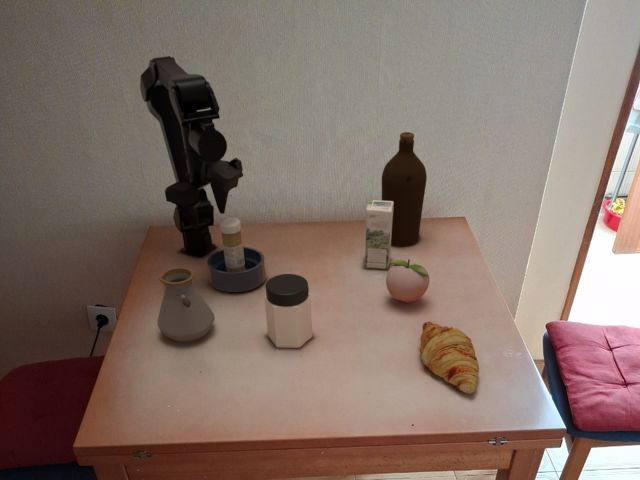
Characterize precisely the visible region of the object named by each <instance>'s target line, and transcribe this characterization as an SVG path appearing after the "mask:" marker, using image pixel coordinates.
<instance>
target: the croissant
mask: <svg viewBox="0 0 640 480" xmlns="http://www.w3.org/2000/svg"><path fill="white" fill-rule="evenodd" d="M419 340H420V354H421V356H420V357H421V358H420V359H421V360H422V361H421V362H422V363H423V364H424V366H426V367H427V368H428V369H429V371H431V373H433V374H434V375H436V376H438V377H440V378H443V381H445V382H446V383H448V384H451V385H453V386H456V388H457V389H458V390H459V391H461V392H463V393H466V394H473V393H474V392H475V391H477V390H476V389H477V387H478V384H479V374H480V364H479V361H478V358H477V357H476V349H475V347H474V344H473V343H472V339H471V338H470V337H469V336H468V335H467V334H466V333H464V332H463V331H461V330H460V329H459V328H455V327H454V328H453V326H452V327H451V326H450V327H448V326H442V325H440V324H437V323H432V321H424V323H423V325H422V333H421V335H420V339H419Z"/></svg>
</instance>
